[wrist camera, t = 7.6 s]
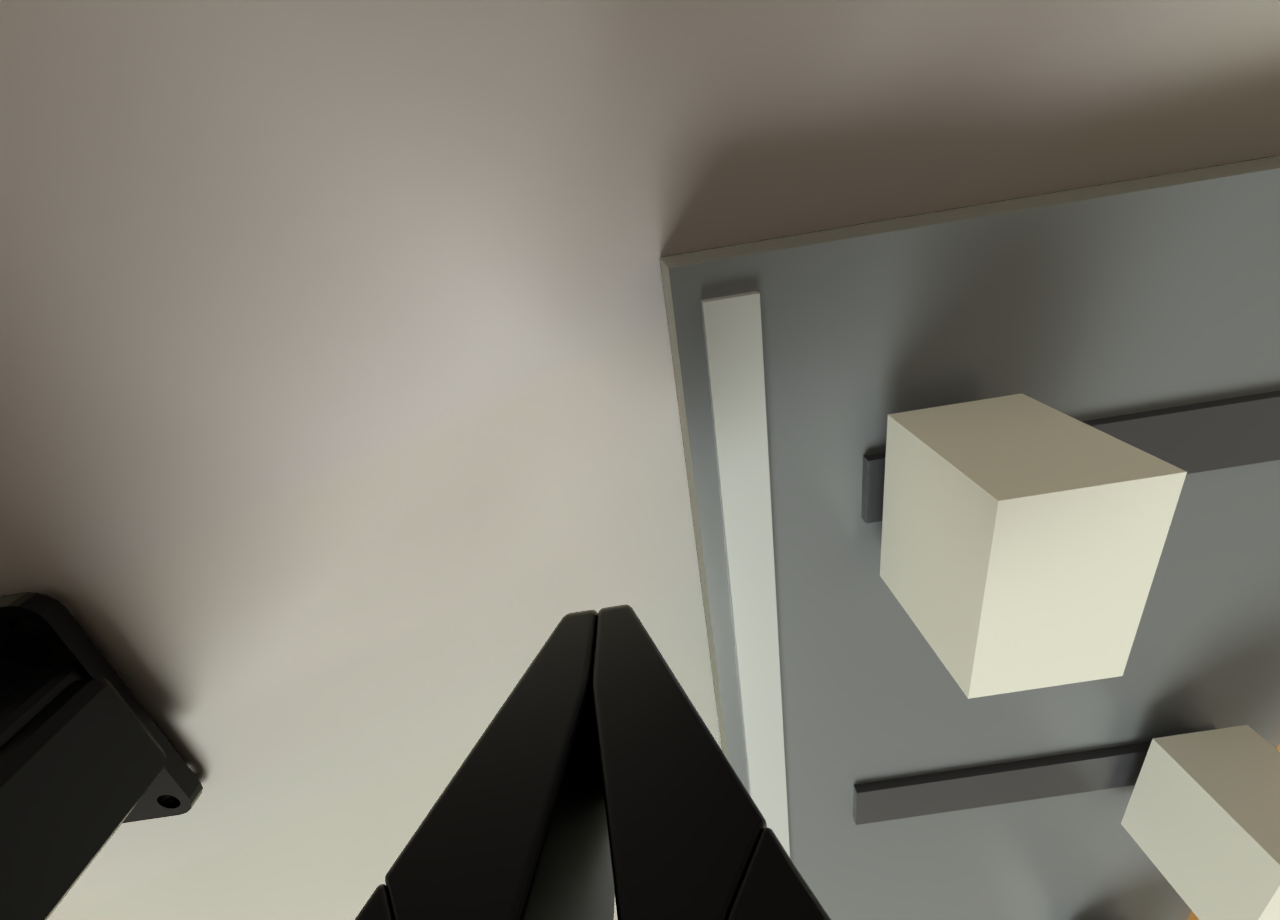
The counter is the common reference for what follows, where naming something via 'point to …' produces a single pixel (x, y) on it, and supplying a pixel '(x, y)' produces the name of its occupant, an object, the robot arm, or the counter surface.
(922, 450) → the switch
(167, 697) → the counter surface
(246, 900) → the counter surface
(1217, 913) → the switch middle
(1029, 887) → the switch panel
